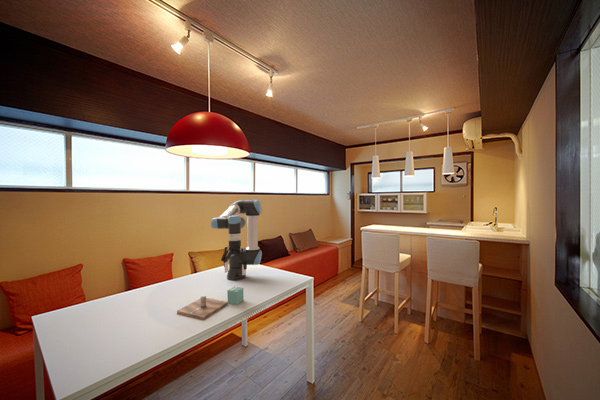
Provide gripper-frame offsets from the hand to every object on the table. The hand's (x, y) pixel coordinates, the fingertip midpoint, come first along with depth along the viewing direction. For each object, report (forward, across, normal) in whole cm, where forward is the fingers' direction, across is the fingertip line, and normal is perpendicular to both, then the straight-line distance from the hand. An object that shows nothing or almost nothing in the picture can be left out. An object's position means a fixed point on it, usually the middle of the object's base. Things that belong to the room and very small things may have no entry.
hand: (235, 273), depth 151 cm
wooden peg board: (+18, -12, -15) cm, 26 cm away
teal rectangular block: (+18, 0, 0) cm, 18 cm away
